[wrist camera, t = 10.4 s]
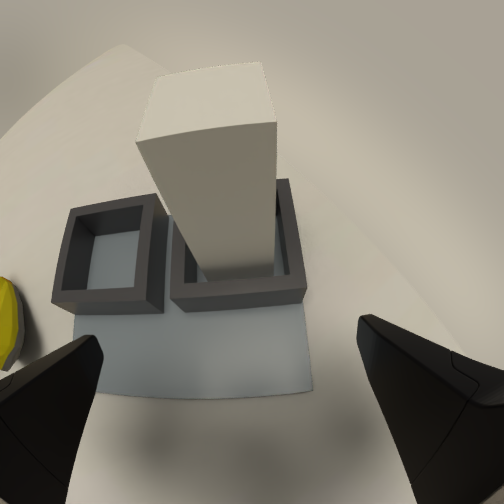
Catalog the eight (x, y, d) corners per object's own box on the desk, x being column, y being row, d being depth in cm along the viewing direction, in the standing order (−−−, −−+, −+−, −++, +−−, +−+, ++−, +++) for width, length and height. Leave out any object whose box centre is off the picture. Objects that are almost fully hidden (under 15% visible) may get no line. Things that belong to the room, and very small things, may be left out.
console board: (310, 390, 16) (322, 392, 12) (80, 388, 16) (44, 385, 12) (286, 210, 21) (289, 176, 18) (94, 232, 22) (70, 206, 18)
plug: (273, 279, 18) (276, 121, 7) (210, 285, 18) (135, 142, 7) (266, 221, 20) (260, 58, 9) (208, 227, 20) (158, 73, 9)
